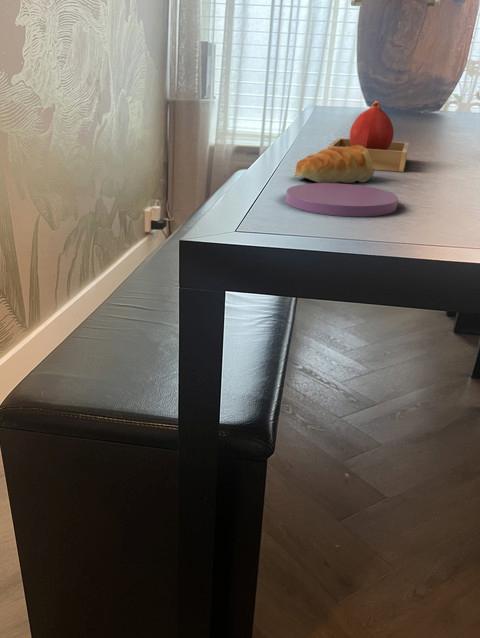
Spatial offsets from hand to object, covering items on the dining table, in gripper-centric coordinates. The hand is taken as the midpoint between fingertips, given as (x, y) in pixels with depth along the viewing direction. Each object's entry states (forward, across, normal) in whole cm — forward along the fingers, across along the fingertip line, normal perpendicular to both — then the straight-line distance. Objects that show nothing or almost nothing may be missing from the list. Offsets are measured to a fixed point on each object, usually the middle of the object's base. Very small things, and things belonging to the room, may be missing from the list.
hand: (394, 5), depth 77 cm
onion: (+19, 0, +2) cm, 19 cm away
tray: (+19, 0, +2) cm, 19 cm away
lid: (+19, -2, +30) cm, 36 cm away
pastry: (+19, +1, +17) cm, 26 cm away
